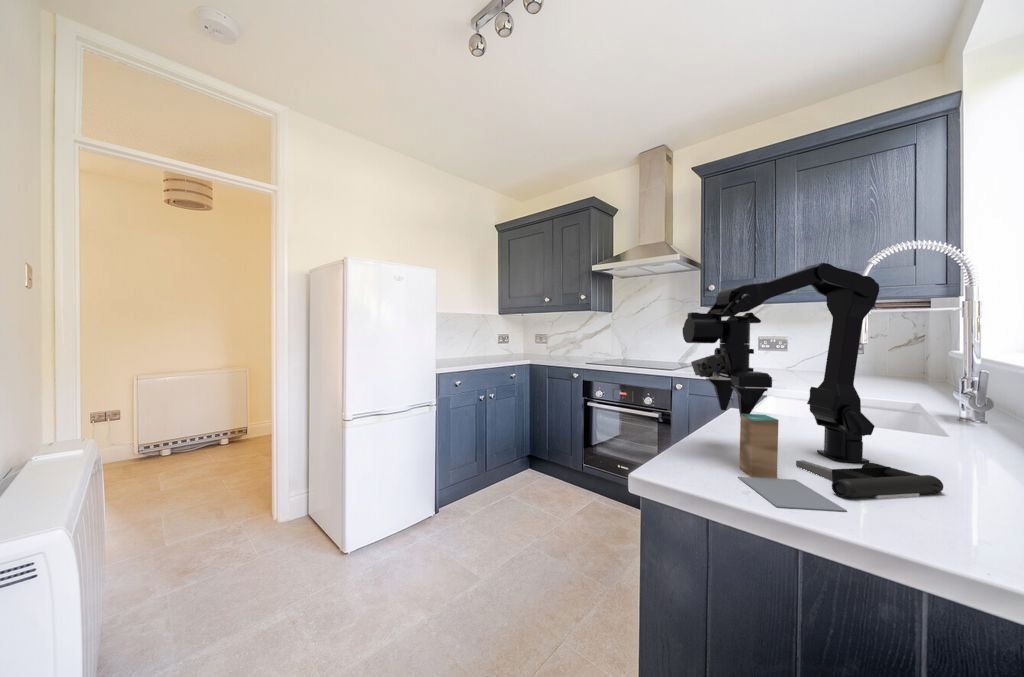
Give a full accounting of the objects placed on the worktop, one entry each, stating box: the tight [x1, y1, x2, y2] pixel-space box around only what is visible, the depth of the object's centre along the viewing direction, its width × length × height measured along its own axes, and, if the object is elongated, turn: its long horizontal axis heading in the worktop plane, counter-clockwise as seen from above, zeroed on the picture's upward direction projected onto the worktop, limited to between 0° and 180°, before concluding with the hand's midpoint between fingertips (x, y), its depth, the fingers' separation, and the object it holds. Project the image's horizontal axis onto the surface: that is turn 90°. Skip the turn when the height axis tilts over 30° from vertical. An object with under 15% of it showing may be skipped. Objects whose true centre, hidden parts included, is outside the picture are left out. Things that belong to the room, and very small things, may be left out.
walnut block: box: [738, 413, 779, 479], centre depth 72 cm, size 4×4×11 cm
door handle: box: [795, 459, 944, 500], centre depth 68 cm, size 3×20×16 cm
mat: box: [737, 476, 848, 513], centre depth 63 cm, size 12×10×1 cm
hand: (732, 414), depth 82 cm, fingers open, 9 cm apart
